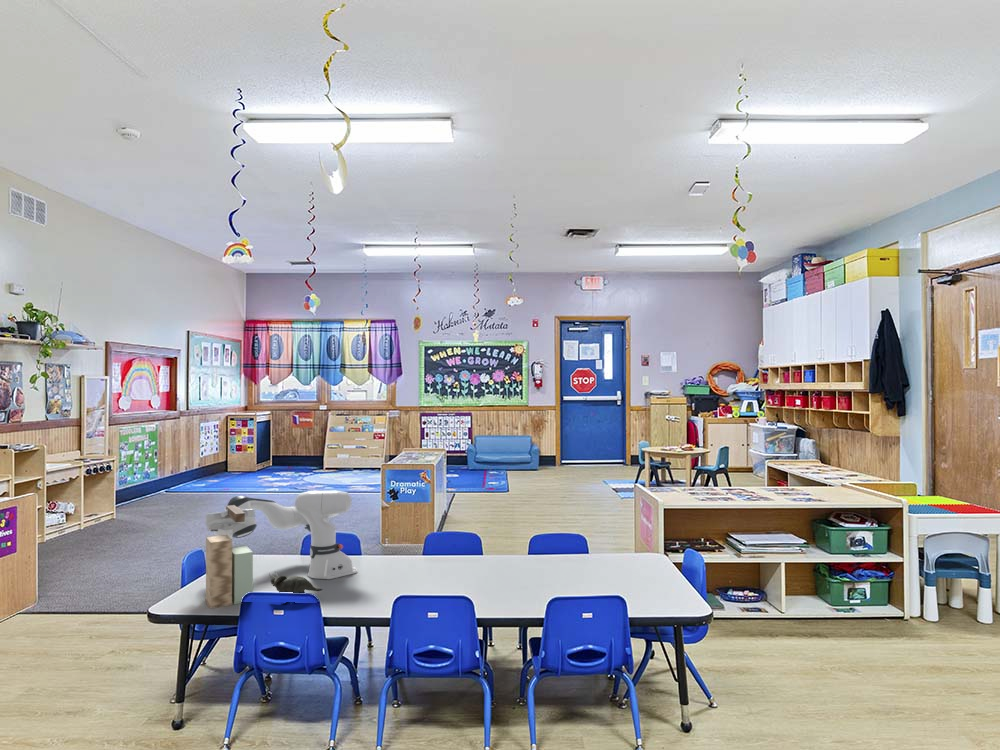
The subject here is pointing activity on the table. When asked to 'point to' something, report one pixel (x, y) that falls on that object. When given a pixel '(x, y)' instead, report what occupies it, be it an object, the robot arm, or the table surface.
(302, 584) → the dinosaur figurine
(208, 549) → the stand
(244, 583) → the pale green upright block
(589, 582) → the table surface
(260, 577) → the table surface
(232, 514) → the bar
